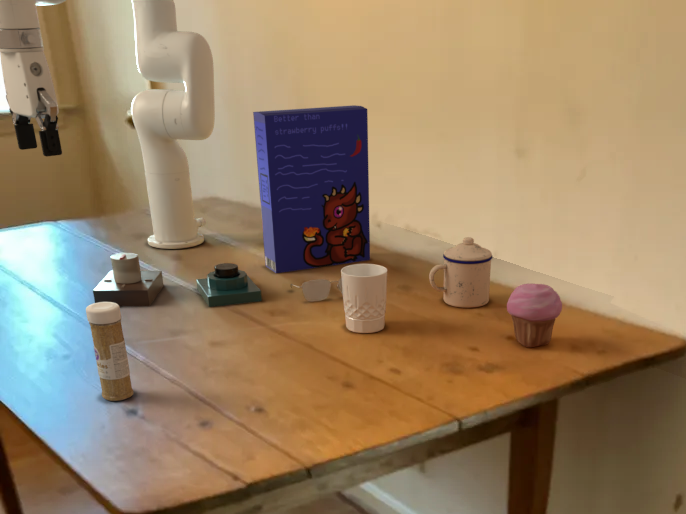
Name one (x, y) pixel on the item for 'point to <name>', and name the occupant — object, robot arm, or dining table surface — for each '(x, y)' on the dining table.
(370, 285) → the white cup
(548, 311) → the cupcake
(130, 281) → the dial
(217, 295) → the button housing
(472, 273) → the teacup with lid
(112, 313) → the sprinkles bottle
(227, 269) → the black button
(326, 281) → the eyeglasses
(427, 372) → the dining table surface
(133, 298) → the dial panel
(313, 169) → the cereal box
